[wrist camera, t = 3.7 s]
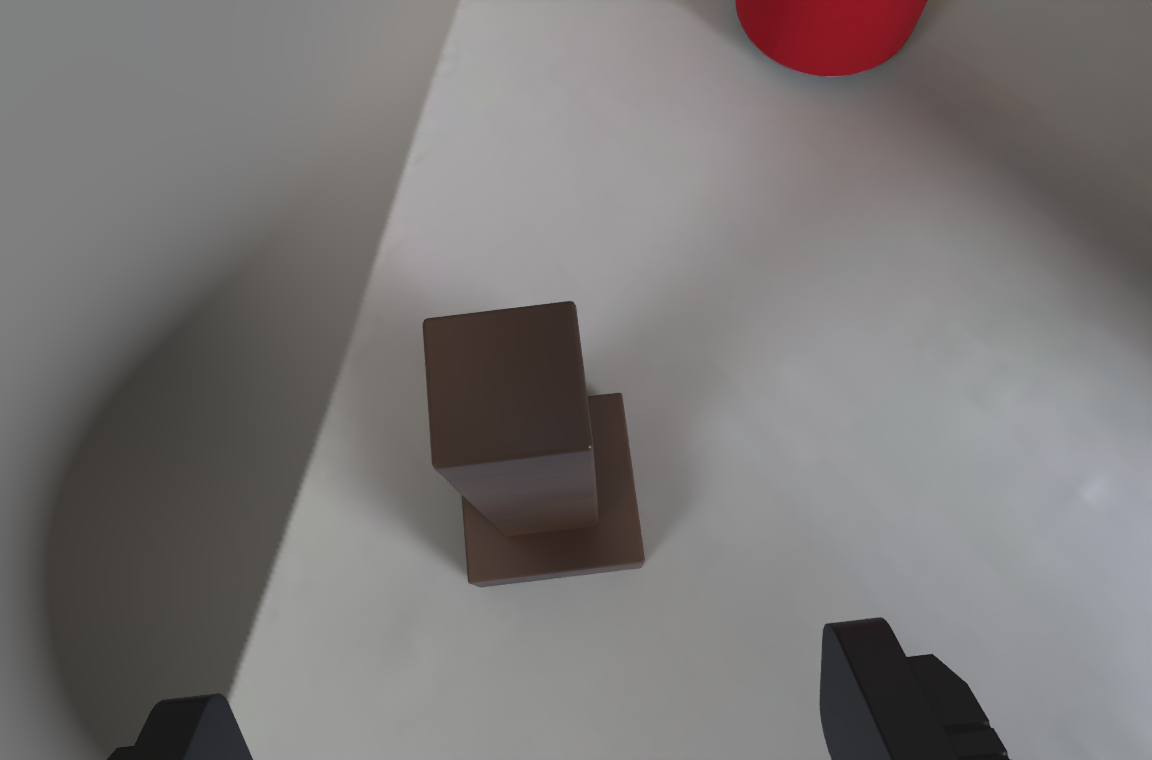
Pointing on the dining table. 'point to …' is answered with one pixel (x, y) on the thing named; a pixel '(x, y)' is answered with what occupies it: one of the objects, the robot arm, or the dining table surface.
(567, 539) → the square wall hook
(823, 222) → the dining table surface
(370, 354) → the dining table surface
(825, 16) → the beverage can
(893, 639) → the robot arm
